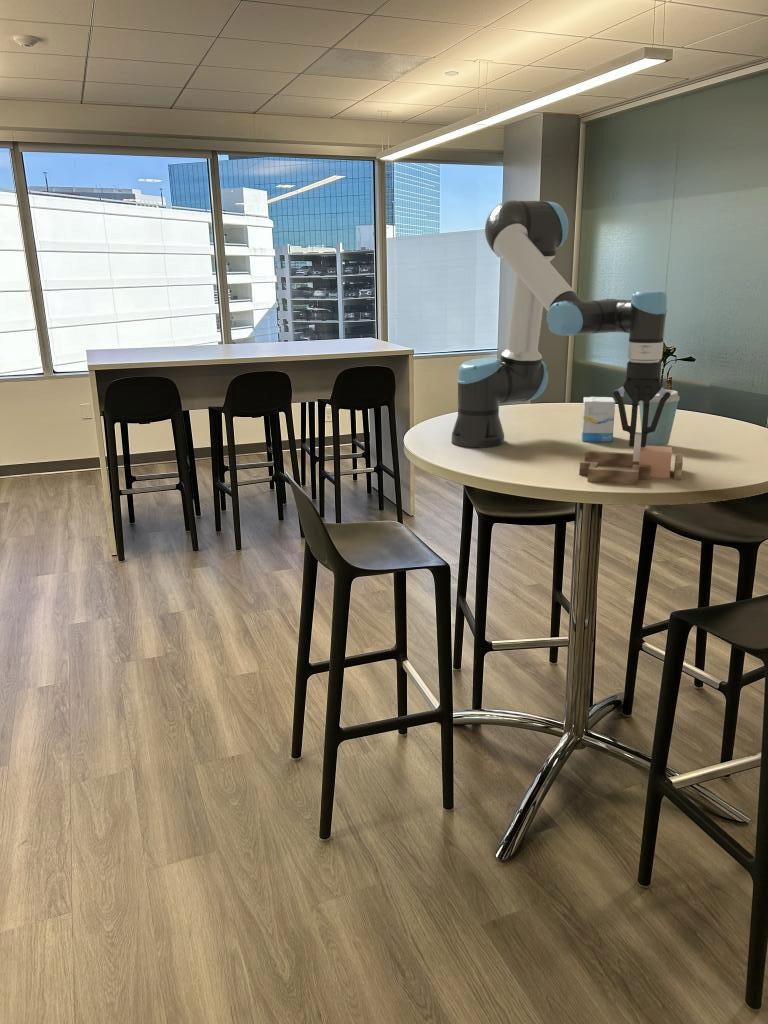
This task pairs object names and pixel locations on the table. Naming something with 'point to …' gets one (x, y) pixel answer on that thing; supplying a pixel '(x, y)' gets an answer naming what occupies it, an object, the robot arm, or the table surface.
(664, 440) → the disposable coffee cup
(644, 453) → the block
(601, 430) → the ink box
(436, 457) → the table surface
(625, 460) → the open wooden frame
